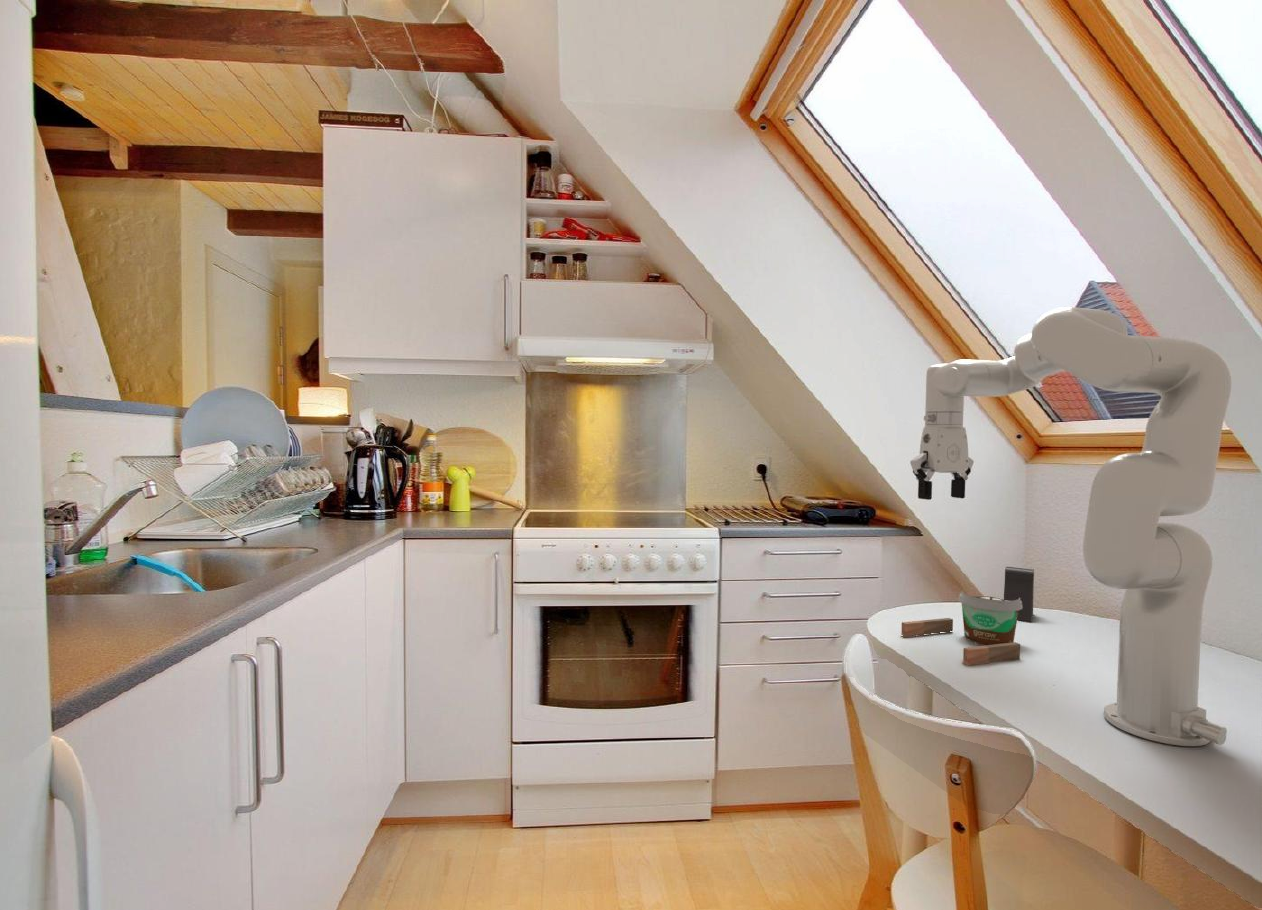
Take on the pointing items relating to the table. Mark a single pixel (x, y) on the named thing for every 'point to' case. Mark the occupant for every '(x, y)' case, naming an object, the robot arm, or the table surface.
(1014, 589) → the phone stand
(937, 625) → the lane walls
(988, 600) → the food container
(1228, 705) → the table surface
